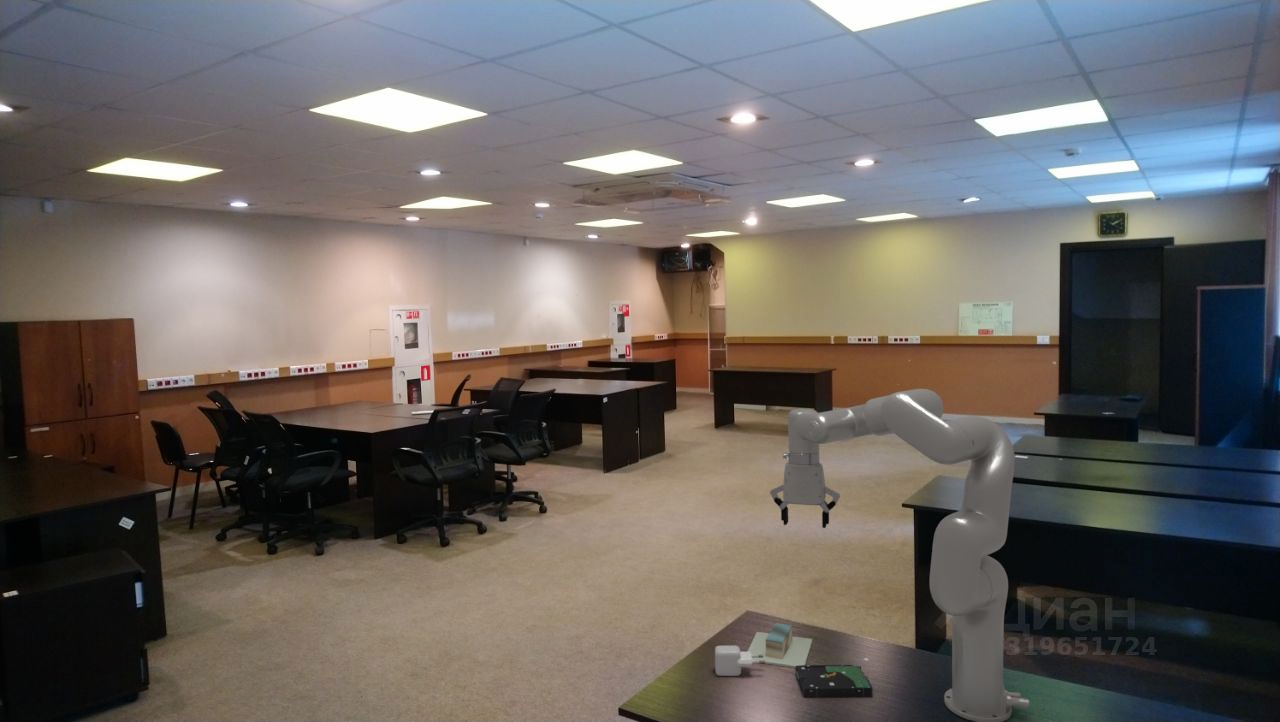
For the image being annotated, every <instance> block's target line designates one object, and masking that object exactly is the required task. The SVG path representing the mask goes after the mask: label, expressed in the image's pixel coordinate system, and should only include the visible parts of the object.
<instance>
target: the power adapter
mask: <svg viewBox="0 0 1280 722" xmlns="http://www.w3.org/2000/svg"><path fill="white" fill-rule="evenodd" d="M752 658H763V655H751V652H747V651H741V648H740V647H739V646H738V645H716V646H715V647H714V667H715V668H714V669H715V674H716V676H719V677H727V676H728V677H739V676H741V674H742V667H753V664H761V663H764V662H765V661H764V660H752Z"/></svg>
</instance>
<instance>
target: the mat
mask: <svg viewBox="0 0 1280 722" xmlns="http://www.w3.org/2000/svg"><path fill="white" fill-rule="evenodd" d="M769 633H770V632H769ZM769 633H768V632H763V631H762V632H760V631H756V633H755V634H754V637H753V640H752V641H751V644H750V646H748V647H749V648H748V650H747V651H746V652H751V655H763V658H752V660H764V661H765V662H764V663H766V664H765V665H768V664H772V665H771V666H775V665H778V666H777V667H782V666H785V667H784V668H788V667H790V668H789V669H795V670H796V666H799V665H806V663H807V661H808V657H809V655H808V654H810V651H811V648H812V645H813V642H812V641H813V640H814V639H813V638H807V637H806V638H805V637H800V636H793V635H792V643H791V645H790V647H789V648H788V650H787V652H786V654H785V656H784V657H783V659H778V658H773V657H767V656H766V638H767V637H768V635H769ZM811 644H812V645H811Z"/></svg>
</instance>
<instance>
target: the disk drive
mask: <svg viewBox="0 0 1280 722" xmlns="http://www.w3.org/2000/svg"><path fill="white" fill-rule="evenodd" d="M795 676H796V679H797V683H798V685H799V688H800V689H799V690H800V692H801V694H802V697H803V699H812V698H813V699H817V698H818V699H821V698H832V699H833V698H834V699H835V698H836V699H837V698H841V699H842V698H858V699H859V698H861V697H862V698H873V696H874V695H873V692H874V691H873V685H872V684H871V682H870V680H869V677H868V676H867V675H866V673H865V672H864V669H863V668H862V666H861V665H853V664H843V665H842V664H831V665H830V664H820V665H819V664H815V665H813V664H812V665H811V664H810V665H809V664H807V665H806V664H805V665H799V666H796V669H795Z"/></svg>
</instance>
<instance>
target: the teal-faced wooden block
mask: <svg viewBox="0 0 1280 722" xmlns="http://www.w3.org/2000/svg"><path fill="white" fill-rule="evenodd" d="M792 636H793V625H792V624H787V623H779V622H776V623H775V624H774V626H773V627H772V628H771V631H770V632H769V635H768V637H767V638H766V656H767V657H773V658H778V659H783V657H784V656H785V654H786V652H787V650H788V648H789V647H790V645H791V643H792Z"/></svg>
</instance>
